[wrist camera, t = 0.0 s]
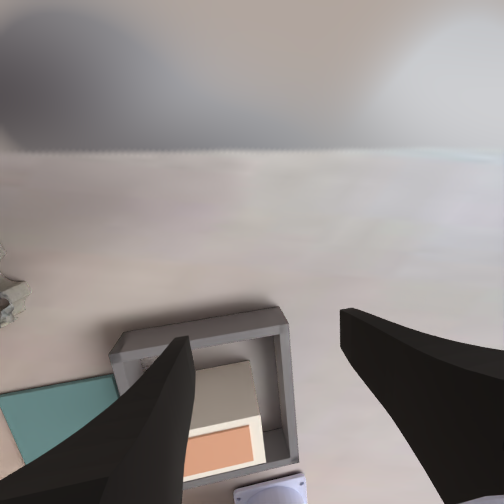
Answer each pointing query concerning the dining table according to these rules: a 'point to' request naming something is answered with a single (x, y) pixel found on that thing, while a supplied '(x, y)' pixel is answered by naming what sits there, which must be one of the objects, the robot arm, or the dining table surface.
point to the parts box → (224, 422)
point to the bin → (211, 334)
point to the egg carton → (12, 296)
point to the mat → (55, 412)
